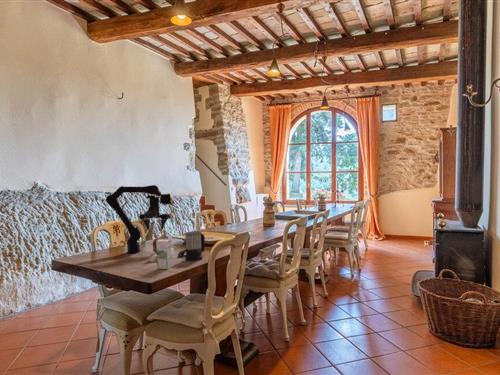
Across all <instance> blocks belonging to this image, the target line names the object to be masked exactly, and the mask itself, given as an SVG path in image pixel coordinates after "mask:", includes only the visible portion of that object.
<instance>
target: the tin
mask: <svg viewBox="0 0 500 375" xmlns="http://www.w3.org/2000/svg"><path fill="white" fill-rule="evenodd" d="M159 239H169V238H168V235H162V236H159V237H157V238H154V239H153V242H152V249H153V252H155V253H157V243H156V241H157V240H159Z"/></svg>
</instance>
